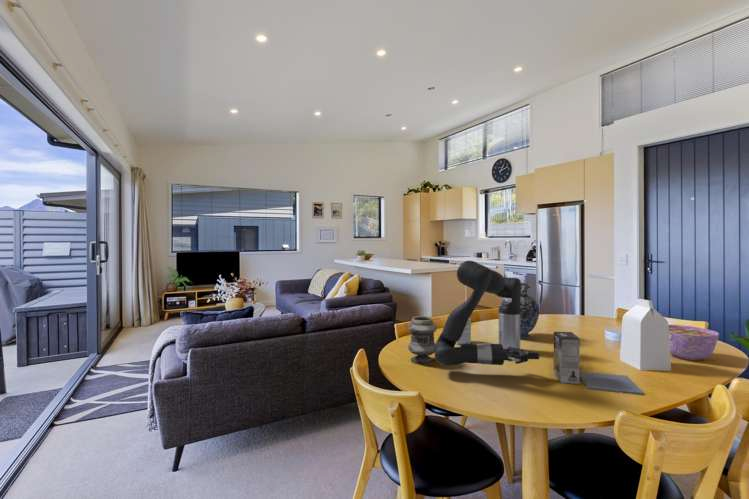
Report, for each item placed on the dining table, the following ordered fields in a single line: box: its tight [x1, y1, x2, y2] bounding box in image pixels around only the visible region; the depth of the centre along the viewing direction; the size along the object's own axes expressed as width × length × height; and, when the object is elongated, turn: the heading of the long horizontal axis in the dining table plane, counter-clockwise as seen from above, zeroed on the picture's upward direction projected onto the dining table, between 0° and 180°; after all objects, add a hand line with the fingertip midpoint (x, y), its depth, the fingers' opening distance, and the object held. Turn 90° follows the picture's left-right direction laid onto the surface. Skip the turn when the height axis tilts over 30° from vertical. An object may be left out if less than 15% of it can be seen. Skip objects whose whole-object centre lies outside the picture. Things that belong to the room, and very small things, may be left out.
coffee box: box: [553, 331, 581, 385], centre depth 129 cm, size 9×6×16 cm
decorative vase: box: [500, 282, 540, 341], centre depth 187 cm, size 21×19×28 cm
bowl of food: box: [668, 324, 720, 361], centre depth 152 cm, size 20×20×12 cm
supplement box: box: [455, 317, 472, 346], centre depth 178 cm, size 7×7×13 cm
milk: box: [619, 298, 672, 372], centre depth 143 cm, size 12×12×26 cm
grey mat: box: [579, 370, 645, 396], centre depth 125 cm, size 16×16×1 cm
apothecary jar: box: [407, 315, 437, 365], centre depth 151 cm, size 12×12×18 cm
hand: (538, 355), depth 131 cm, fingers closed
